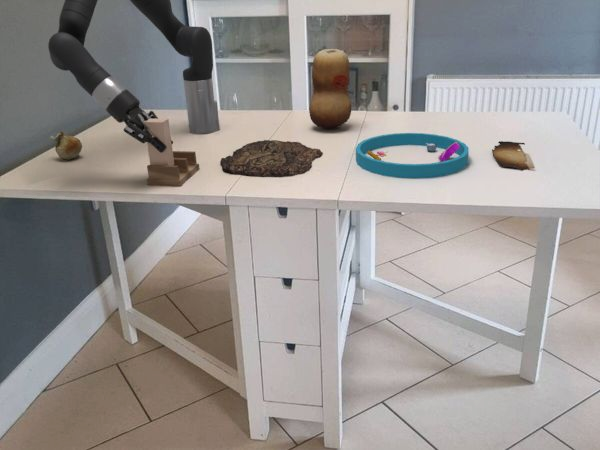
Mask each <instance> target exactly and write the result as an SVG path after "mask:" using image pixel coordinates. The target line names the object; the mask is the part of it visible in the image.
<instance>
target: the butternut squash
mask: <svg viewBox="0 0 600 450" xmlns="http://www.w3.org/2000/svg"><path fill="white" fill-rule="evenodd" d="M312 61H313V62H312V70H311V71H312V72H311V79H312V88H313V95H312V98H311V100H310V104H309V109H308V110H309V112H308V113H309V118H310V120H311V122H312V123H313V124H314V125H315V126H317V127H319V128H322V129H328V130H331V129H332V130H333V129H338V128H339V127H341V126H343V125H344V124H345V123H347V122H348V120H350V117H351V114H352V101H351V97H350V95H349V91H348V88H349V85H350V84H349V83H350V81H351V80H350V79H351V78H350V59H349V56H348V55H347V54H346V53H345V52H344V51H343V50H342V49H336V48H325V49H322V50H320V51H318V52H317V53H316V54H315V55H314V58H313V59H312Z"/></svg>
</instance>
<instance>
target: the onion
mask: <svg viewBox="0 0 600 450" xmlns="http://www.w3.org/2000/svg"><path fill="white" fill-rule="evenodd" d="M50 140H52V141H53V142H56V144H55V152H56V154H57V155H58V157H59V158H61V159H63V160H68V161H69V160H73V159H76V158H77V157H78V156H79V155H80V153H81V151H82V148H83V144H82V142H81V140H80V139H79V138H77V137H75V136H72V135H68V134H66V132H64V131H60V132H59V133H57V134H56V136H53V135H51V136H50Z"/></svg>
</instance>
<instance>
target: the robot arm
mask: <svg viewBox="0 0 600 450" xmlns="http://www.w3.org/2000/svg"><path fill="white" fill-rule="evenodd" d="M98 1H99V0H64V3H63V6H62V9H61V11H60V14H59V21H58V31H57V32H55V33H54V34H53V35H51V37H50V38H49V40H48V43H47V44H48V45H47V46H48V52H49V57H50V61H51V63H52V64H53V65H54V66H55V67H56V68H57V69H59V70H61V71H69V72H70V73H71V74H72V75H73V76H74V78H75V80H76V82H77V84H79V86H80V87H82V89H83V90H84V91H85V92H87V93H88V94H89V95H90V96H91V97H92V98H93V99H94V100H95V102H96V104H98V105H99V107H101V108H103V110H104V111H106V112H107V113H108V114H109V116H111V117H112V118H113V119H114V120H115V121H116V122H118V123H120V124H121V123H124V124H125V125H126V126H125V127H124V128H123V132H124V133H126V134H127V135H129V136H131V138H134V139H135V140H137V141H138V142H140V143H141V144H144V145H145V143H146V144H147V143H151V144H152V145H153V146H154V147H155V148H156V149H157V150H158V151H159V152H160V153H162V152H163V151H164V150H165V149H166V148H167V146H166V145H165V144H164V143H163V142H162V141H160V140H159V139H158V138H157V137H155V135H154V134H153V133H152V132H151V131H150V128H149V126H147V125H146V124H145V123H144V122H145V121H147V120H148V119H159V118H158V116H157V115H156V113H155V112H154V111H152V110H149V112H146V111H145V110H143V109H142V108H140V105H141V103H140V99H138V98H137V97H136V96H135V95H134V94H133V93H132V92H131V91H130V90H128V89H127V87H125V86H124V85H123V84H122V83H121V82H120V81H119V80H117V79H116V78H114V77H113V76H112V75H111V74H110V73H109V72H108V71H107V70H105V68H104V67H102V66H101V65H100V64H99V63H98V62H97V61H96V60H95V58H94V57H93V56H92V55H91V53H90V52H89V51H88V50H87V49H86V47H85V41H86V37H87V33H88V29H89V27H90V25H91V21H92V19H93V16H94V13H95V8H96V6H97V4H98ZM129 1H130V2H131V3H132V5H134V6H135V7H136V9H137V10H138V11H139V12H140V13H141V14H143V16H144V17H146V18H147V20H149V21H150V22H151V23H152V24H153V26H155V27H156V29H158V30H159V32H161V34H162V35H163V36H164V38H165V39H166V40H167V42H169V44H170V46H171V47H173V49H174V50H175V51H176V52H177V53H178V54H179V55H181V56H183V57H188V58H189V57H190V58H191V66H189V67H188V68H186V69H184V70H183V71H182V79H183V86H184V96H185V97H184V98H185V104H186V105H185V106H186V112H187V121H188V122H187V123H188V129H189V133H191V134H196V135H198V134H199V135H203V134H204V135H205V134H210V133H213V132H216V131H219V130H220V129H221V128H220V120H219V111H218V110H219V109H218V108H219V107H218V102H217V100H215V93H214V83H213V69H214V57H213V56H214V55H213V51H214V50H213V41H212V35H211V34H210V32H209V30H208V29H207V28H206V27H203V26H188V25H185V24H184V23H183V22H182V21H180V20H179V19H178V18H177V16H176V15H175V14H174V12H173V9H172V8H173V7H172V3H171V0H129ZM171 143H172V145H173V144H174V142H173V140H172V139H171Z"/></svg>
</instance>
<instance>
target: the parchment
mask: <svg viewBox="0 0 600 450" xmlns="http://www.w3.org/2000/svg"><path fill="white" fill-rule="evenodd" d="M497 144H498V145H494V148H493V149H492V150H491V151H492V156H493V158H494V159H496V162H497V163H498V164H499V166H500V167H501V168H504V167H507V168H516V169H519V170H520V171H522V172H523V171H530V170H531V171H532V170H535V169H536V167H535V164H534V162H533V159H532V157H531V155H530V154H529V153H527V152H524V150H523V148H522V146H521V145H523V146H524V145H526V143H525V142H516V141H502V140H501V141H498V142H497Z"/></svg>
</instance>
